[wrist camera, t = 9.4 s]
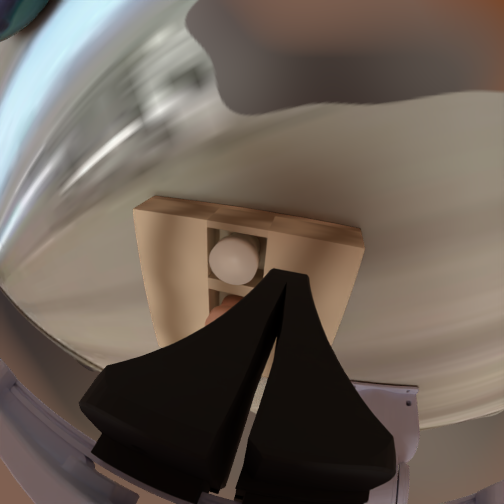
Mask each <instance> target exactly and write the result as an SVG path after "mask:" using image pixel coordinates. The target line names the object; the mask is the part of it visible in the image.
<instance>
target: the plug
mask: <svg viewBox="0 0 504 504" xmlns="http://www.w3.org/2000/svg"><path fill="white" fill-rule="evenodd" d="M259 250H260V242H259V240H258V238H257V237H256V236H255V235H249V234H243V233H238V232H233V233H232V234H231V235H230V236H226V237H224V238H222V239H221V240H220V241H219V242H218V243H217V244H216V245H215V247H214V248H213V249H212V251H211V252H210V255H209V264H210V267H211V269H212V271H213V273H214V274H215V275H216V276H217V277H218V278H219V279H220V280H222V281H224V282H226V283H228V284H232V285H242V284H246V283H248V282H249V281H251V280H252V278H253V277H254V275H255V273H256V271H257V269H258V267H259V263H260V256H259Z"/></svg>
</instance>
